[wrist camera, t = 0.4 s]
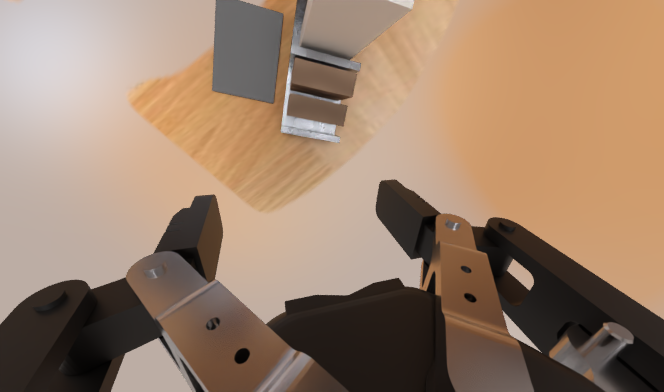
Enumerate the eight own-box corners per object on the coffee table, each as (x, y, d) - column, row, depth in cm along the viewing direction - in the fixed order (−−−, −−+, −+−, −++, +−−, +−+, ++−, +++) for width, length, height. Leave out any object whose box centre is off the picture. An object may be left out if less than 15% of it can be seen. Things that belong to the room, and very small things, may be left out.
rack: (295, 14, 31) (299, -17, 24) (352, 32, 33) (372, 8, 26) (280, 130, 35) (280, 134, 28) (332, 139, 37) (344, 145, 30)
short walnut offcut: (288, 96, 33) (290, 92, 27) (336, 107, 35) (347, 105, 29) (286, 115, 34) (287, 115, 28) (333, 124, 36) (343, 126, 30)
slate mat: (217, -5, 29) (216, -7, 28) (283, 15, 31) (283, 13, 30) (213, 90, 32) (212, 90, 32) (273, 103, 34) (273, 103, 34)
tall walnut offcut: (292, 70, 32) (295, 57, 25) (340, 82, 34) (357, 73, 27) (289, 90, 33) (291, 83, 26) (337, 100, 35) (352, 97, 27)
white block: (301, 27, 31) (330, -104, 12) (344, 39, 32) (428, -61, 14) (297, 56, 32) (319, -24, 13) (339, 67, 33) (412, 9, 15)
